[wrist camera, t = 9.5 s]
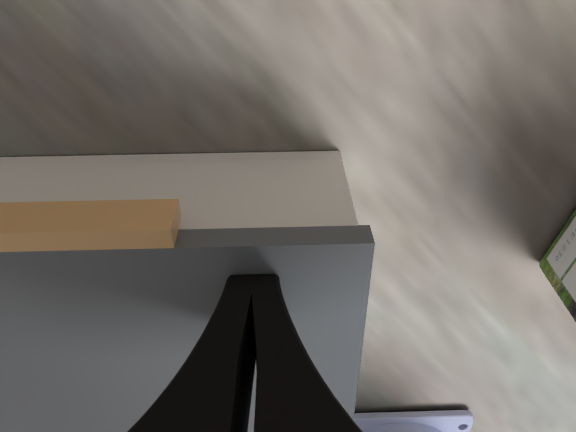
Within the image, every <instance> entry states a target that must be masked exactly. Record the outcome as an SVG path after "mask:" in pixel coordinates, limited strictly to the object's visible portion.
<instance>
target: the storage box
mask: <svg viewBox="0 0 576 432" xmlns="http://www.w3.org/2000/svg"><path fill="white" fill-rule="evenodd" d="M145 199H179V204H180V210H181V216H182V217H181V221H180V225H179V229H223V228H268V227H312V226H357V225H358V222H357V218H356V214H355V210H354V206H353V202H352V198H351V194H350V190H349V186H348V182H347V178H346V174H345V170H344V166H343V162H342V158H341V154H340V151H301V152H248V153H195V154H142V155H89V156H36V157H0V203H1V202H49V201H97V200H145Z"/></svg>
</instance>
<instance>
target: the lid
mask: <svg viewBox="0 0 576 432" xmlns="http://www.w3.org/2000/svg"><path fill="white" fill-rule="evenodd" d="M181 217H182V216H181V210H180V204H179V199H145V200H97V201H49V202H1V203H0V432H128V430H129V429H130V428H131V427H132V426H133V425H134V424H135V423H136V422H137V421H138V420H139V419H140V418H141V417H142V416H143V415H144V414H145V412H146V411H147V410H148V409H149V408H150V407H151V405H152V404H153V403H154V402H155V401H156V399H157V398H158V397H159V396H160V394H161V393H162V392H163V391H164V390H165V388H166V387H167V386H168V384H169V383H170V382H171V380H172V379H173V378H174V376H175V375H176V374H177V372H178V371H179V369H180V368H181V367H182V365H183V364H184V362H185V361H186V359H187V358H188V356H189V355H190V353H191V351H192V350H193V348H194V346H195V345H196V343H197V341H198V340H199V338H200V336H201V335H202V333H203V331H204V329H205V328H206V326H207V324H208V322H209V320H210V318H211V316H212V314H213V312H214V310H215V308H216V306H217V304H218V301H219V299H220V297H221V295H222V292H223V289H224V287H225V284H226V280H227V278H228V277H229V276H230V275H244V274H276V275H277V276H279V280H280V286H281V290H282V294H283V298H284V301H285V304H286V306H287V309H288V312H289V315H290V317H291V319H292V322H293V324H294V326H295V328H296V331H297V333H298V335H299V337H300V339H301V341H302V343H303V345H304V347H305V349H306V351H307V353H308V355H309V356H310V358H311V360H312V362H313V363H314V365H315V367H316V369H317V370H318V372H319V373H320V375H321V377H322V378H323V380H324V381H325V383H326V384H327V386H328V387H329V389H330V390H331V392H332V393H333V395H334V396H335V397H336V399H337V400H338V401H339V403H340V404H341V405H342V407H343V408H344V409H345V410H346V412H347V413H348V414H349V416H350V417H351V418H352V419H353V420H354V412H355V403H356V395H357V387H358V378H359V370H360V362H361V353H362V345H363V337H364V328H365V320H366V312H367V303H368V295H369V287H370V278H371V270H372V262H373V253H374V245H375V243H374V239H373V235H372V232H371V228H370V225H357V226H312V227H268V228H223V229H179V225H180V221H181ZM256 376H257V370H256V363H255V372H254V381H253V389H252V398H251V407H250V415H249V424H248V432H254V418H255V398H256Z"/></svg>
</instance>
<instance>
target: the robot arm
mask: <svg viewBox="0 0 576 432" xmlns="http://www.w3.org/2000/svg"><path fill="white" fill-rule="evenodd" d="M255 363H256V370H257V376H256V398H255V418H254V432H470V430H471V427H472V424H473V421H474V418H473V415H472V413H471V412H470V411H468V410H444V411H412V412H379V413H354V420H353V419H352V418H351V417H350V416H349V414H348V413H347V412H346V410H345V409H344V408H343V407H342V405H341V404H340V403H339V401H338V400H337V399H336V397H335V396H334V395H333V393H332V392H331V390H330V389H329V387H328V386H327V384H326V383H325V381H324V380H323V378H322V377H321V375H320V373H319V372H318V370H317V369H316V367H315V365H314V363H313V362H312V360H311V358H310V356H309V355H308V353H307V351H306V349H305V347H304V345H303V343H302V341H301V339H300V337H299V335H298V333H297V331H296V328H295V326H294V324H293V322H292V319H291V317H290V315H289V312H288V309H287V306H286V304H285V301H284V298H283V294H282V290H281V286H280V280H279V276H277V275H276V274H244V275H230V276H229V277H228V278H227V280H226V284H225V287H224V289H223V292H222V295H221V297H220V299H219V301H218V304H217V306H216V308H215V310H214V312H213V314H212V316H211V318H210V320H209V322H208V324H207V326H206V328H205V329H204V331H203V333H202V335H201V336H200V338H199V340H198V341H197V343H196V345H195V346H194V348H193V350H192V351H191V353H190V355H189V356H188V358H187V359H186V361H185V362H184V364H183V365H182V367H181V368H180V369H179V371H178V372H177V374H176V375H175V376H174V378H173V379H172V380H171V382H170V383H169V384H168V386H167V387H166V388H165V390H164V391H163V392H162V393H161V394H160V396H159V397H158V398H157V399H156V401H155V402H154V403H153V404H152V405H151V407H150V408H149V409H148V410H147V411H146V412H145V414H144V415H143V416H142V417H141V418H140V419H139V420H138V421H137V422H136V423H135V424H134V425H133V426H132V427H131V428H130V429H129V430H128V432H248V424H249V415H250V407H251V398H252V389H253V381H254V372H255Z"/></svg>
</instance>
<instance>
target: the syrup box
mask: <svg viewBox="0 0 576 432" xmlns="http://www.w3.org/2000/svg"><path fill="white" fill-rule="evenodd" d="M539 265H540V268H541V269H542V271H543V273H544V274H545V276H546V277H547V279H548V280H549V282H550V284H551V285H552V287H553V288H554V290H555V291H556V293H557V294H558V296H559V297H560V299H561V300H562V302H563V303H564V305H565V306H566V308H567V309H568V311H569V312H570V314H571V315H572V317H573V318H574V320H575V322H576V209H575V211H574V212H573V214H572V215H571V216H570V218H569V219H568V221H567V223H566V224H565V226H564V227H563V229H562V230H561V232H560V233H559V235H558V236H557V237H556V239H555V240H554V242H553V243H552V245H551V246H550V248H549V249H548V250H547V252H546V254H545V255H544V257H543V258H542V260H541V262H540V264H539Z"/></svg>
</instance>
